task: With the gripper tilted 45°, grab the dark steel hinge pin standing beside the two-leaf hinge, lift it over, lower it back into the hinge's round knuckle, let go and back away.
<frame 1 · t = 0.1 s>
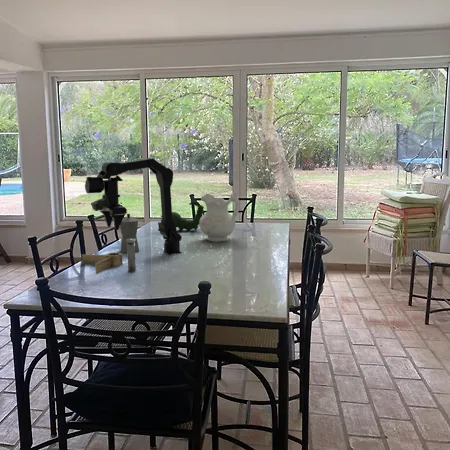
hand: (112, 228, 195), 15 cm above the table, tool pointing down, fingers open, 9 cm apart
toy figurine: (182, 231, 268), on the table
hinge pin: (132, 271, 182), on the table
ceramic pitcher: (219, 239, 243), on the table
hinge: (114, 264, 192), on the table
coffeepot: (129, 251, 218), on the table
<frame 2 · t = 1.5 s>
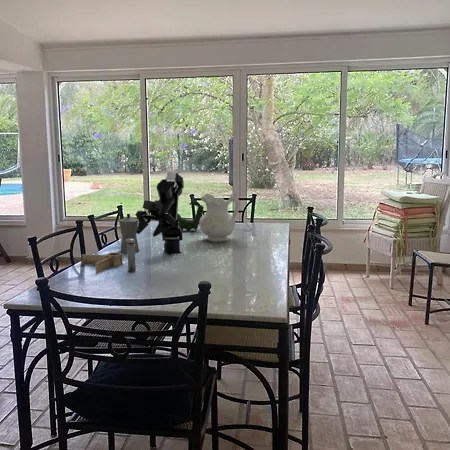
hand: (145, 234, 186), 14 cm above the table, tool tilted 45°, fingers open, 9 cm apart
nothing on the table moved.
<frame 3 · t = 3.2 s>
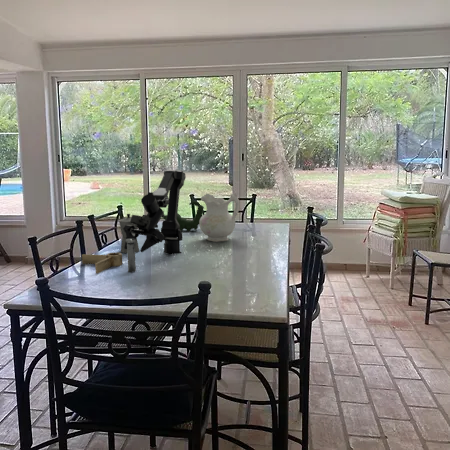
hand: (132, 250, 181), 8 cm above the table, tool tilted 45°, fingers open, 9 cm apart
nothing on the table moved.
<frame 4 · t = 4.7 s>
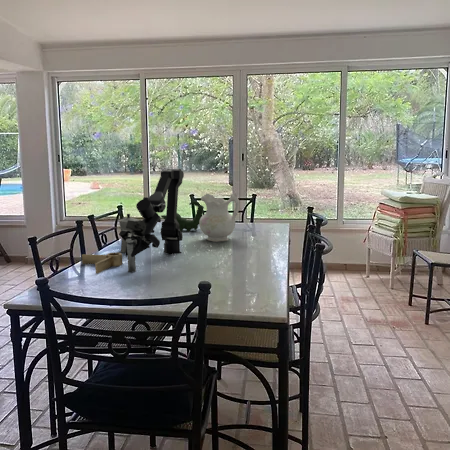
hand: (128, 255, 180), 7 cm above the table, tool tilted 45°, fingers closed on hinge pin, 3 cm apart
hinge pin: (132, 271, 182), on the table, touching gripper
everything else where it was.
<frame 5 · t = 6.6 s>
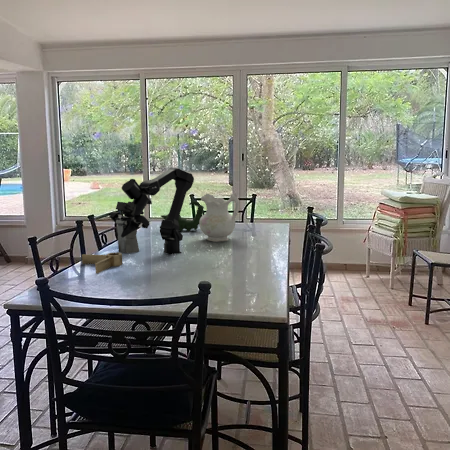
hand: (118, 236, 184), 13 cm above the table, tool tilted 45°, fingers closed on hinge pin, 3 cm apart
hinge pin: (122, 251, 186), point 7 cm above the table, touching gripper
everything else where it was.
when the fingers open (8 cm above the table, at t = 8.7 s): hinge pin drops 1 cm, resting in hinge.
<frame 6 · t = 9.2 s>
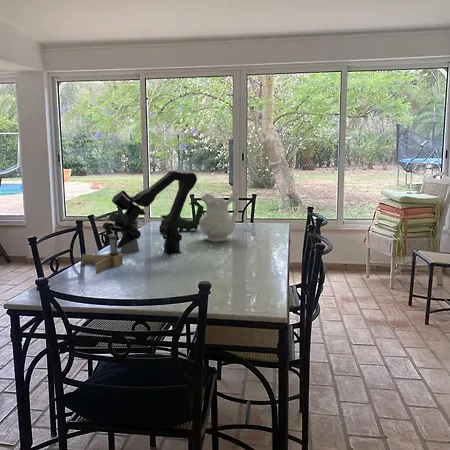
hand: (111, 246, 190), 8 cm above the table, tool tilted 45°, fingers open, 8 cm apart
hinge pin: (114, 264, 192), resting in hinge
everything else where it was.
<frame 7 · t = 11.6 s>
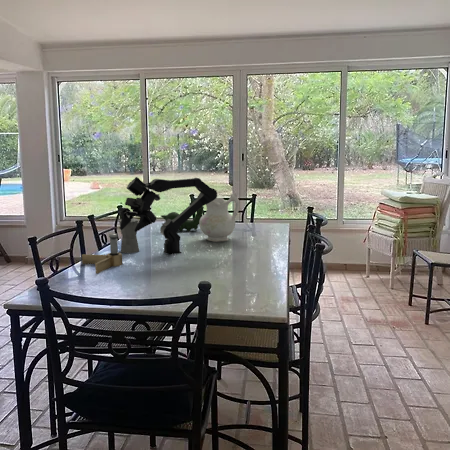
hand: (127, 230, 196), 14 cm above the table, tool tilted 45°, fingers open, 9 cm apart
nothing on the table moved.
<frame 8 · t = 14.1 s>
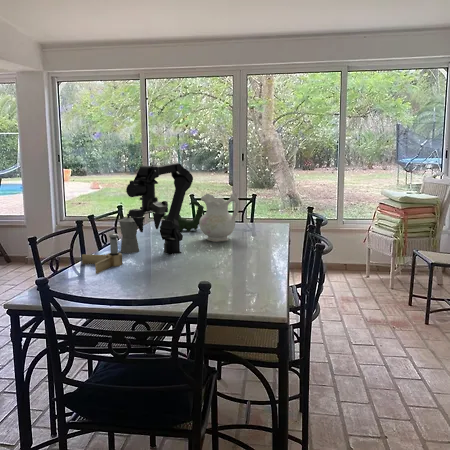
hand: (149, 230, 198), 13 cm above the table, tool pointing down, fingers open, 9 cm apart
nothing on the table moved.
at the end: hinge pin 0.0 cm off-centre on the hinge, point 0.0 cm above the hinge's base; hinge pin tilted 0°; the gripper is holding nothing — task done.
